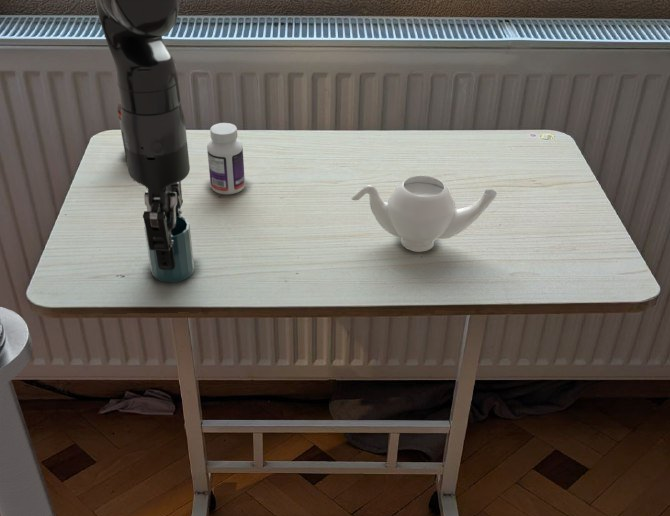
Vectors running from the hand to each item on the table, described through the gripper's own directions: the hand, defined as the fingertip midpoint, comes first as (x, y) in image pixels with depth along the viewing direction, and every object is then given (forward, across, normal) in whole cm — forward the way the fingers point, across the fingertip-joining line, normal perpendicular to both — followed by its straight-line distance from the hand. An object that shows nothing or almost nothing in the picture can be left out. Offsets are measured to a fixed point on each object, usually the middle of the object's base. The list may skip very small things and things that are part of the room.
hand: (170, 254), depth 113 cm
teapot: (+3, -8, +34) cm, 35 cm away
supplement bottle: (+3, -32, -10) cm, 34 cm away
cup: (+3, 0, 0) cm, 3 cm away
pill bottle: (+3, -23, +5) cm, 24 cm away
